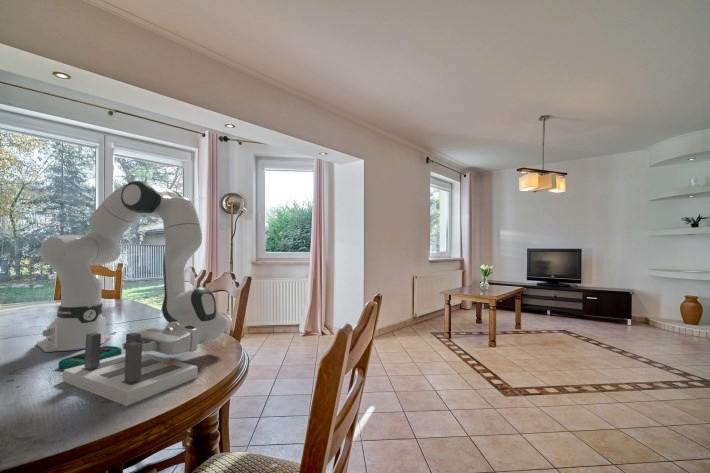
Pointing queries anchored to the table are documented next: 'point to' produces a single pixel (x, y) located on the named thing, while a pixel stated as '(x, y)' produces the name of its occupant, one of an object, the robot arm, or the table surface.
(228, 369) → the table surface
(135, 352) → the handle
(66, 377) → the box
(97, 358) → the handle
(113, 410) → the table surface
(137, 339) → the post
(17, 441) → the table surface
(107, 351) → the digital multimeter
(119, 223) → the robot arm
